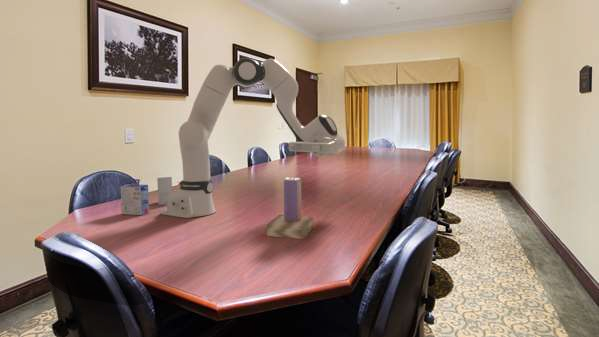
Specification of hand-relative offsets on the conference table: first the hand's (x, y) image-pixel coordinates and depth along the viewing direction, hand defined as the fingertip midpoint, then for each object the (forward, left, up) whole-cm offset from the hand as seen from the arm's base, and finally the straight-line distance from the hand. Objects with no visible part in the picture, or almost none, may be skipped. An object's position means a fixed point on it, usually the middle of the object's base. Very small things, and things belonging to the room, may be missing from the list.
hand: (300, 148), depth 140 cm
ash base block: (+1, -17, -28) cm, 33 cm away
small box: (-70, +10, -28) cm, 76 cm away
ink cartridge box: (-70, -10, -28) cm, 76 cm away
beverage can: (+2, -17, -24) cm, 30 cm away
